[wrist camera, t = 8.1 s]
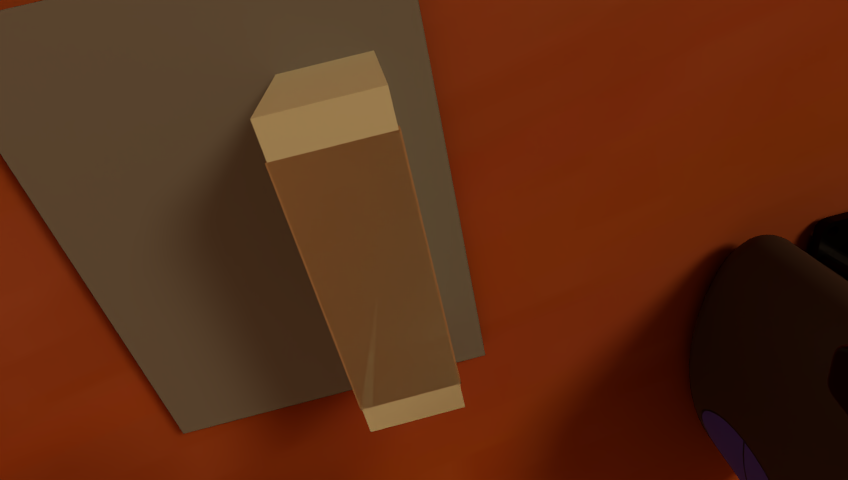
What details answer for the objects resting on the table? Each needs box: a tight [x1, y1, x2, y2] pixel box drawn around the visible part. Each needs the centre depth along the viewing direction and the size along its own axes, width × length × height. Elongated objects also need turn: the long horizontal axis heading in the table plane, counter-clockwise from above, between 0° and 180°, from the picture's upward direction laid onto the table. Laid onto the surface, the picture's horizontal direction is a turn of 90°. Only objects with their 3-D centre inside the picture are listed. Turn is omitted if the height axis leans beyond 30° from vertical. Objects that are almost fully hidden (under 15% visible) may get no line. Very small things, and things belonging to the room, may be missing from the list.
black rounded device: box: [689, 235, 848, 480], centre depth 21 cm, size 16×5×9 cm, turn 22°
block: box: [250, 50, 465, 432], centre depth 15 cm, size 3×10×5 cm, turn 12°
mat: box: [0, 0, 485, 434], centre depth 18 cm, size 13×16×1 cm
